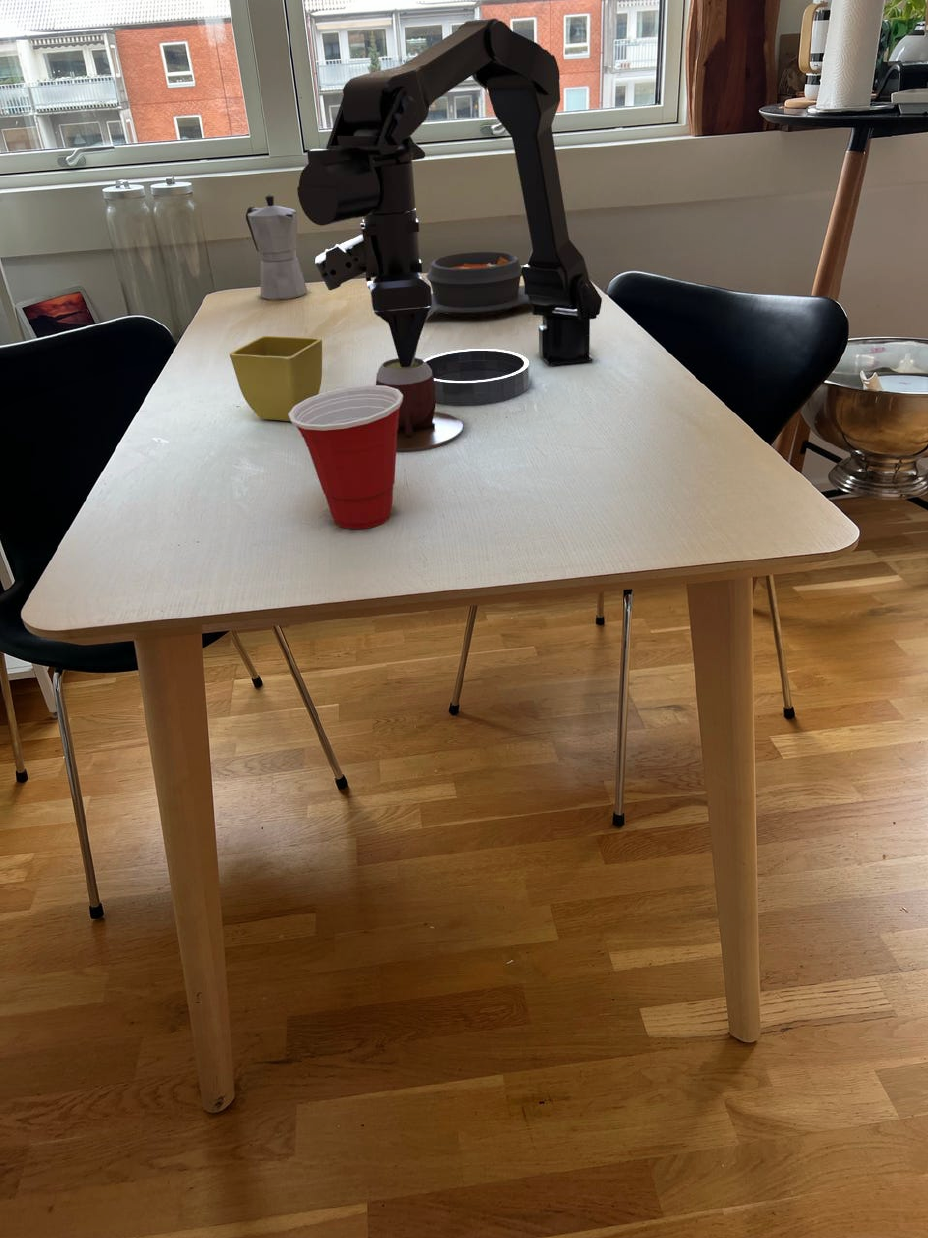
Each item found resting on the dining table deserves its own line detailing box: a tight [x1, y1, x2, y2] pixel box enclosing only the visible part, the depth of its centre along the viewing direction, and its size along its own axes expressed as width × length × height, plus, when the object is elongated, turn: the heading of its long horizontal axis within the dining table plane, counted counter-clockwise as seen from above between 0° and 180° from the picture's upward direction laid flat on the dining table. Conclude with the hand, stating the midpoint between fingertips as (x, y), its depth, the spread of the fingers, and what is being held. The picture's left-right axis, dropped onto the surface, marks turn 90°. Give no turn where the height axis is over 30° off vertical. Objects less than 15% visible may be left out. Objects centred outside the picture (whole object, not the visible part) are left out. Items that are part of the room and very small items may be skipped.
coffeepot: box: [245, 194, 308, 301], centre depth 180 cm, size 15×9×18 cm, turn 44°
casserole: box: [425, 251, 530, 318], centre depth 162 cm, size 25×19×8 cm
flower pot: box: [229, 335, 323, 422], centre depth 119 cm, size 9×9×9 cm
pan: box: [423, 348, 530, 407], centre depth 126 cm, size 15×15×3 cm
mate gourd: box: [375, 307, 437, 438], centre depth 109 cm, size 8×8×15 cm
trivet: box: [396, 411, 464, 453], centre depth 113 cm, size 13×13×1 cm
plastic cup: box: [288, 384, 403, 530], centre depth 90 cm, size 11×11×12 cm
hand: (402, 355), depth 108 cm, fingers open, 9 cm apart
